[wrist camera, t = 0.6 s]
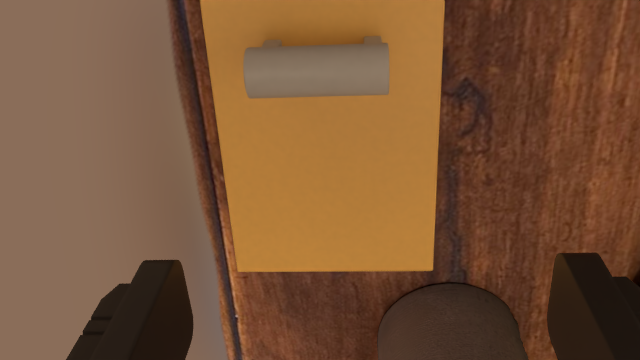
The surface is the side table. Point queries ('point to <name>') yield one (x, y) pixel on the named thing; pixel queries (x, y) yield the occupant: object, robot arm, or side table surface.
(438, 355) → the pillar candle
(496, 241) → the side table surface
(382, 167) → the lid
